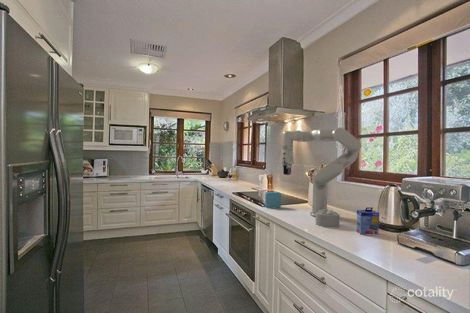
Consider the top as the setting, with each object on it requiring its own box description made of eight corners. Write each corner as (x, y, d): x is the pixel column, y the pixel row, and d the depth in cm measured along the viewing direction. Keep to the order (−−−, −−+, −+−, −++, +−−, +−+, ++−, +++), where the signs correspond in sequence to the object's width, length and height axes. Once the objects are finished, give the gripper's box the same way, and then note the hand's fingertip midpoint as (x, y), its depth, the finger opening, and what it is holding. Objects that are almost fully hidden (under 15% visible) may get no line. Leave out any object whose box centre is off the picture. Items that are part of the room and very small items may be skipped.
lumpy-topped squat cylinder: (341, 227, 139) (341, 212, 139) (319, 227, 138) (319, 212, 138) (333, 222, 149) (333, 208, 149) (312, 222, 149) (313, 208, 149)
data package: (279, 206, 191) (279, 191, 191) (281, 207, 187) (281, 192, 187) (264, 206, 191) (265, 191, 190) (265, 208, 186) (266, 192, 186)
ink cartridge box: (360, 235, 126) (361, 207, 126) (355, 231, 132) (356, 205, 132) (379, 235, 126) (380, 208, 126) (373, 231, 132) (373, 205, 132)
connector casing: (291, 174, 172) (291, 165, 172) (288, 175, 169) (288, 165, 169) (285, 174, 175) (285, 164, 175) (282, 174, 172) (283, 165, 172)
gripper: (287, 148, 163) (286, 174, 163) (297, 148, 176) (297, 173, 176) (277, 148, 168) (276, 174, 168) (288, 148, 181) (287, 172, 181)
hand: (287, 173), depth 172 cm, fingers closed on connector casing, 4 cm apart
